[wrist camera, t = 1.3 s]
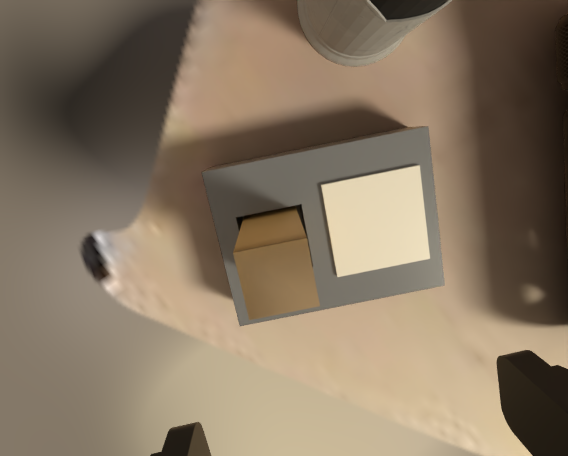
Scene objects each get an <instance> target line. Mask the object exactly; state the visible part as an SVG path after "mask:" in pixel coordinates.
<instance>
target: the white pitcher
mask: <svg viewBox="0 0 568 456" xmlns="http://www.w3.org/2000/svg"><path fill="white" fill-rule="evenodd" d="M451 1H452V0H297V8H298V16H299V20H300V24H301V27H302V30H303V32H304V34H305V36H306V38H307V39H308V41H309V42H310V44H311V45H312V46H313V48H314V49H315V50H316V51H317V52H318V53H319V54H321V55H322V56H323V57H325V58H326V59H328V60H330V61H332V62H334V63H336V64H340V65H344V66H352V67H358V66H366V65H369V64H372V63H375V62H377V61H379V60H381V59H383V58H385V57H386V56H388V55H389V54H390V53H391V52H393V51H394V50H395V49H396V48H397V46H398V45H399V44H400V43H401V42H402V40H403V39H404V37H405V36H406V34H408V33H409V32H410V31H412V30H413V29H415V28H416V27H417V26H419V25H420V24H422V23H423V22H424V21H426V20H427V19H428V18H430V17H431V16H433V15H434V14H435V13H437V12H438V11H440V10H441V9H442V8H444V7H445V6H446V5H447V4H449V3H450V2H451Z"/></svg>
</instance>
